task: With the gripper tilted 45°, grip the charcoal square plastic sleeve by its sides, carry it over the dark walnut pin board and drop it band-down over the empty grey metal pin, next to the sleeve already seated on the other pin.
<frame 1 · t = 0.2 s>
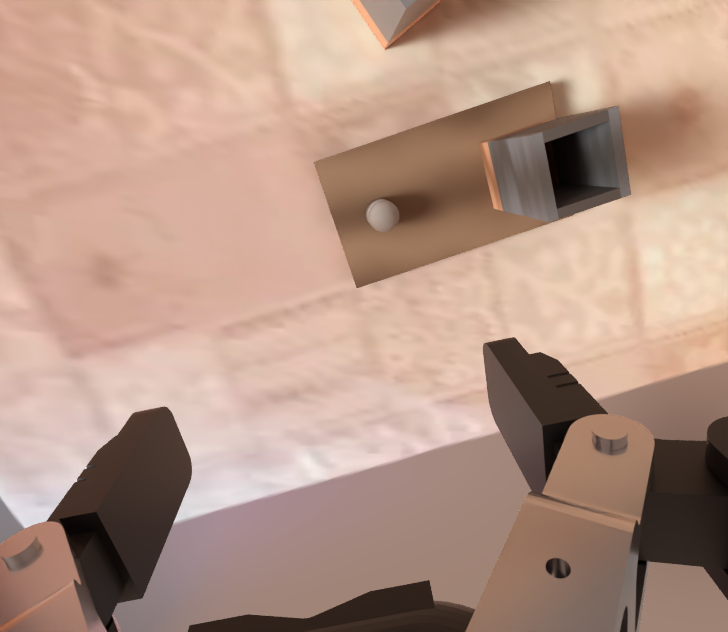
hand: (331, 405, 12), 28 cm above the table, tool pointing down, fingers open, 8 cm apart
pin board: (442, 188, 38), on the table
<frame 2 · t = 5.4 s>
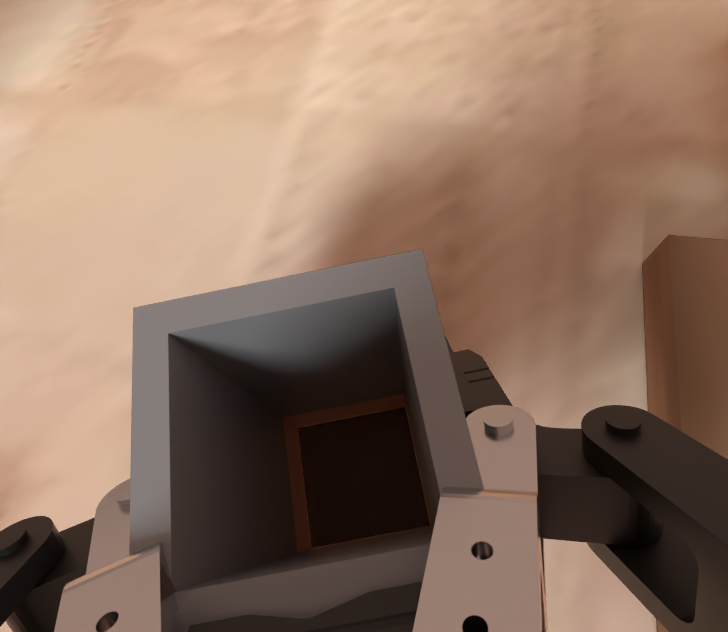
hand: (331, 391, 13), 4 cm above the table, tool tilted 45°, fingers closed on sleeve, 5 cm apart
sleeve: (360, 474, 16), on the table, touching gripper
when the fingers open (8 cm above the table, at t = 11.3 s): sleeve drops 1 cm, resting on pin board.
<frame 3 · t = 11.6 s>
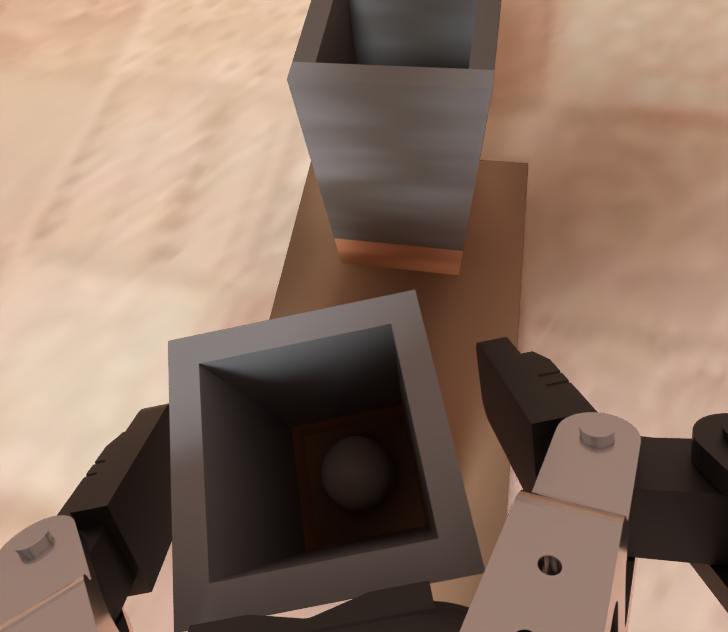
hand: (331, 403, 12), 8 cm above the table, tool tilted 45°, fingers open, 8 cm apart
pin board: (390, 350, 21), on the table
sleeve: (362, 478, 17), point 2 cm above the table, touching pin board
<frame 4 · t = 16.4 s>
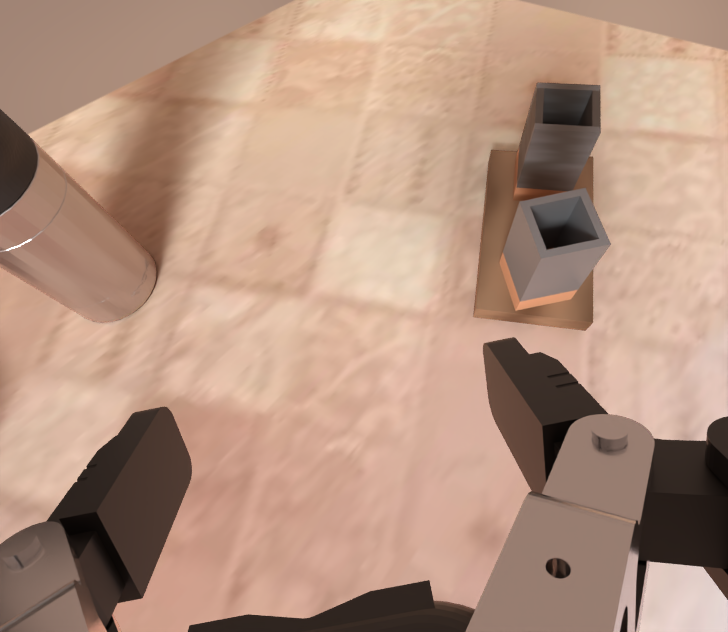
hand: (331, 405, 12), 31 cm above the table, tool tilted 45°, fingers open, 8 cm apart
pin board: (532, 239, 48), on the table
sleeve: (534, 280, 44), point 2 cm above the table, touching pin board
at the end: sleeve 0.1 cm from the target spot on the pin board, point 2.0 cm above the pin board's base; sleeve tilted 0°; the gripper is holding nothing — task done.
